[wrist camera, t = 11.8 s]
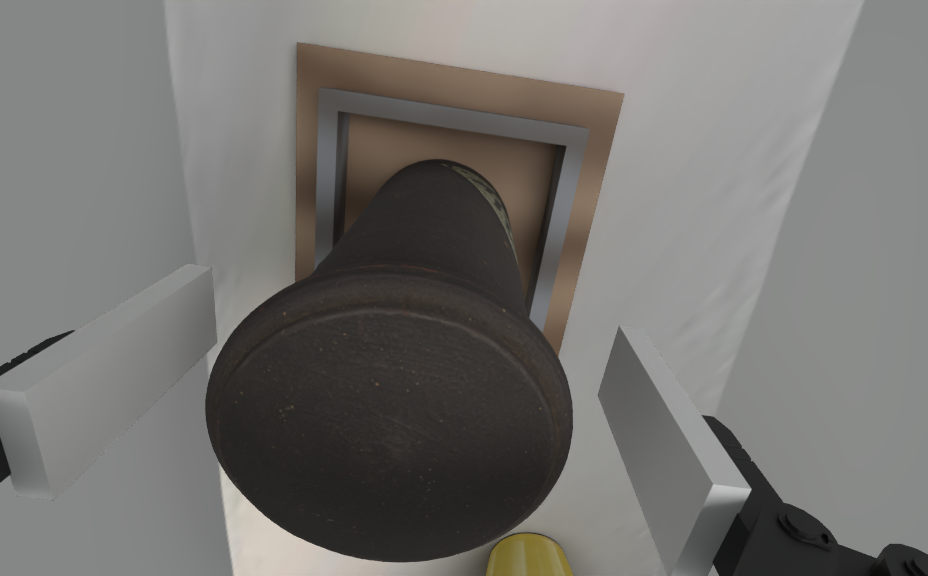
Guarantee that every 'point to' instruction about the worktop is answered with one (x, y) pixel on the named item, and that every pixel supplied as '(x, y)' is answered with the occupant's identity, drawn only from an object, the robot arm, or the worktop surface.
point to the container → (398, 382)
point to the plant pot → (528, 557)
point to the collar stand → (454, 156)
